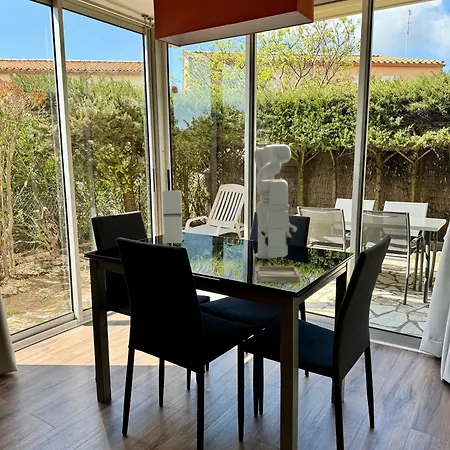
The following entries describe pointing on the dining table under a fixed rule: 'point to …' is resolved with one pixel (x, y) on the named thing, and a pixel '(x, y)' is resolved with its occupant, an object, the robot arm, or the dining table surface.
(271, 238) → the supplement box
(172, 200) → the white tall box
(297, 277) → the tray
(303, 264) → the dining table surface
